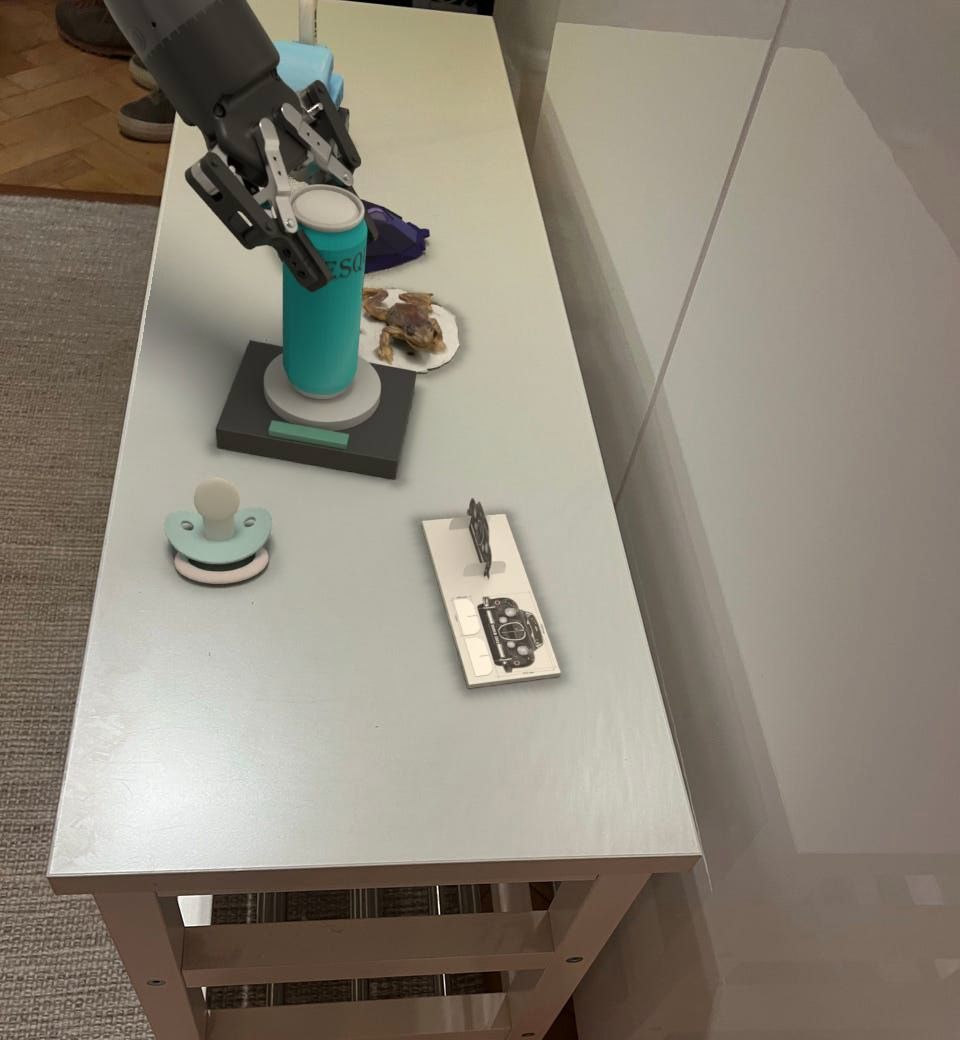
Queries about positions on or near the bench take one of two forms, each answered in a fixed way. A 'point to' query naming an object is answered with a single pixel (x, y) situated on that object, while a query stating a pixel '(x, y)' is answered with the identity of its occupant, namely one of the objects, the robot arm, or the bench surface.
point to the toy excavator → (311, 62)
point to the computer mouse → (392, 240)
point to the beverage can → (326, 294)
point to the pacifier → (219, 534)
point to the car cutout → (488, 599)
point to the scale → (317, 416)
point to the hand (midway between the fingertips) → (345, 263)
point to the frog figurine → (406, 330)
